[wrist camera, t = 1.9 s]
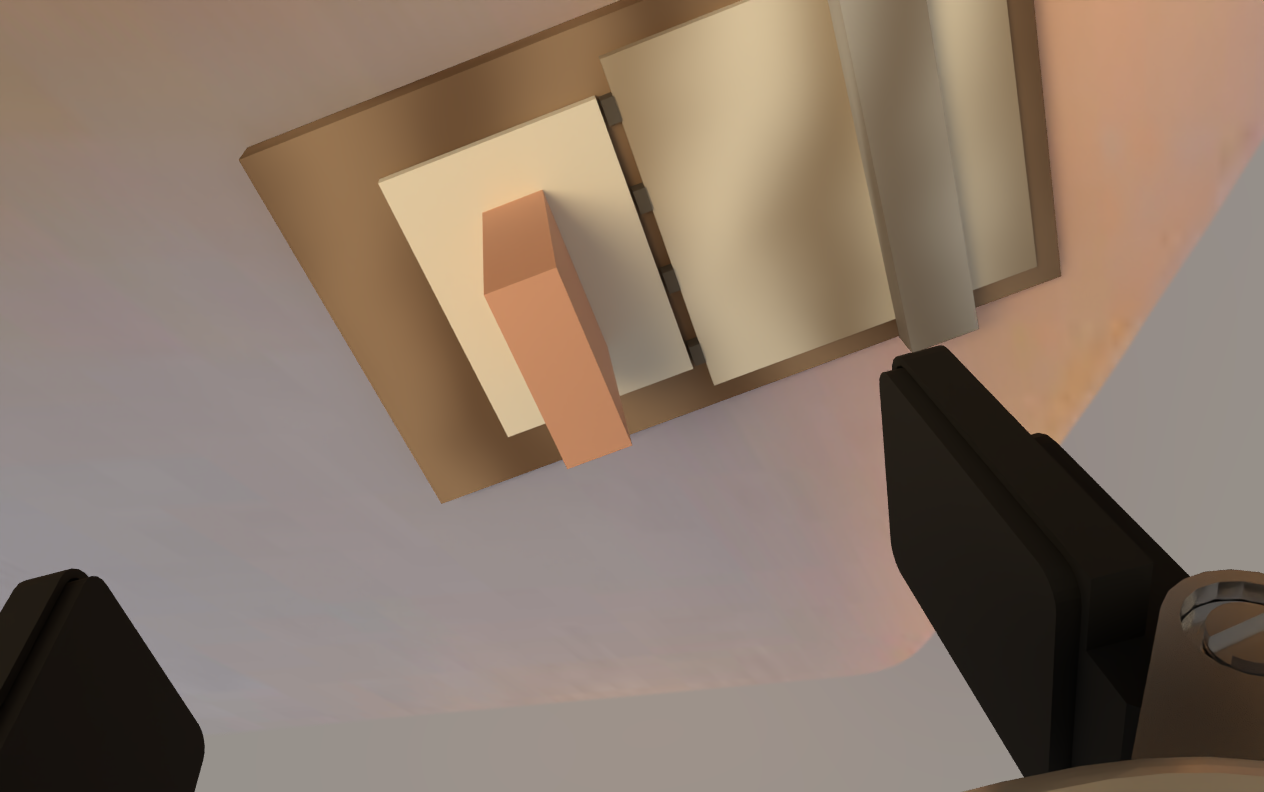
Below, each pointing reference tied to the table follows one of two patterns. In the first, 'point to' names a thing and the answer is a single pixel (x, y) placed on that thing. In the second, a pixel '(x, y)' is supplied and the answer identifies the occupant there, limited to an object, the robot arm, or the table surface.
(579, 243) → the stub
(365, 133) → the ticket board
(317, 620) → the table surface
